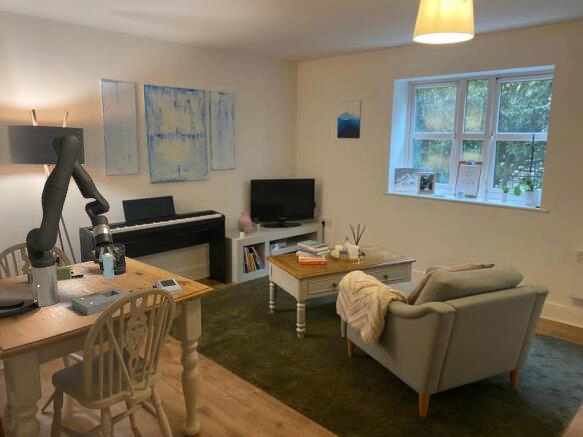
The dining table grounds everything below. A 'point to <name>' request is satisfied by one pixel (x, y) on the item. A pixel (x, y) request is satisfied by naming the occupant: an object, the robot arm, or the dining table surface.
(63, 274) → the handheld radio
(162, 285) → the keypad
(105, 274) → the pale blue tall block
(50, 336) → the dining table surface
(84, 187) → the robot arm
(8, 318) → the dining table surface
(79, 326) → the dining table surface
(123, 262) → the storage jar
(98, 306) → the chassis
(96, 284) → the dining table surface
